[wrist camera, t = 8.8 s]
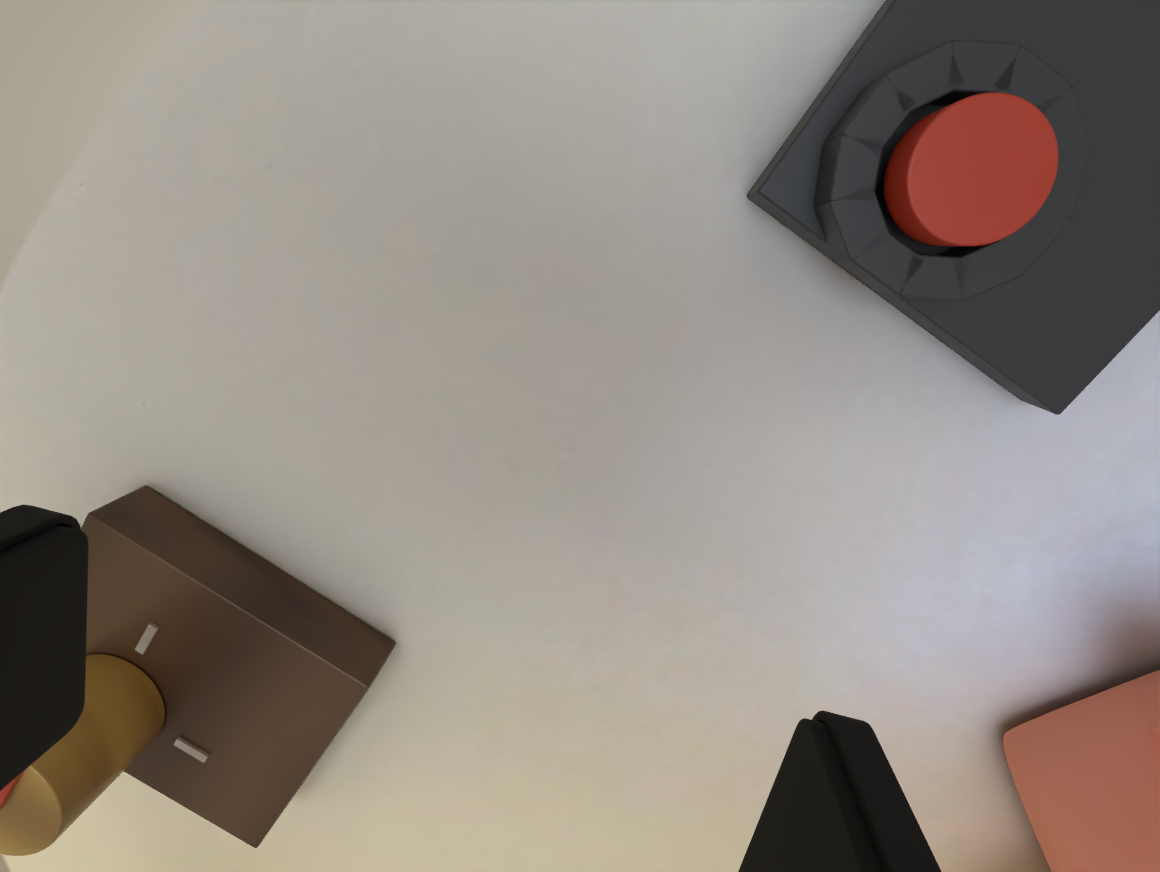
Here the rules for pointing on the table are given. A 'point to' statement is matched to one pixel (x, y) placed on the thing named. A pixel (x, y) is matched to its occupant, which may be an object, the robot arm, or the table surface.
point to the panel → (223, 659)
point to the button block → (1056, 232)
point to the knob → (82, 756)
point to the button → (972, 171)
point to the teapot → (1094, 779)
